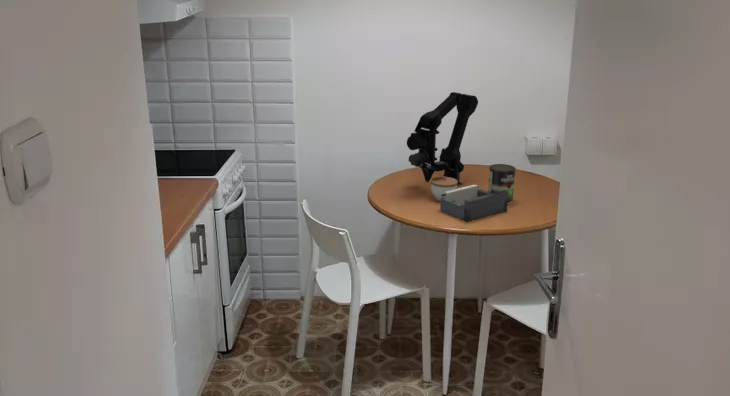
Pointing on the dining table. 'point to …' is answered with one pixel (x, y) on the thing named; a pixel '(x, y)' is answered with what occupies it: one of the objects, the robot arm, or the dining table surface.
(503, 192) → the box
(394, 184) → the dining table surface
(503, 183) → the coffee can
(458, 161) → the robot arm
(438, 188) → the lidded jar
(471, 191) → the grey flat bar
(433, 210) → the dining table surface
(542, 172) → the dining table surface
